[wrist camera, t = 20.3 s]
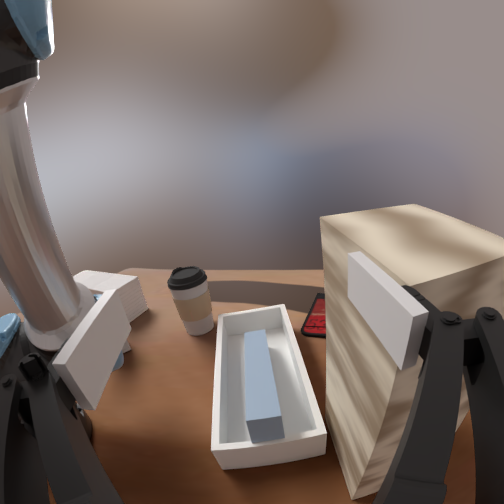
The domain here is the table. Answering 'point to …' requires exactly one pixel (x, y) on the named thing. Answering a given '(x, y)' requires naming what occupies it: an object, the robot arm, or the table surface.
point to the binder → (316, 318)
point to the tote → (287, 385)
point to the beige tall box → (367, 343)
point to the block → (261, 390)
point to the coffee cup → (192, 299)
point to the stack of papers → (125, 287)
